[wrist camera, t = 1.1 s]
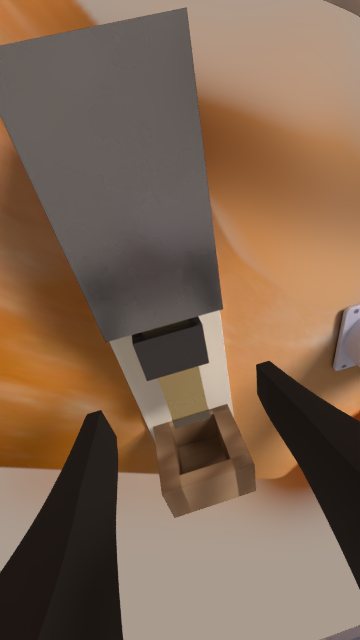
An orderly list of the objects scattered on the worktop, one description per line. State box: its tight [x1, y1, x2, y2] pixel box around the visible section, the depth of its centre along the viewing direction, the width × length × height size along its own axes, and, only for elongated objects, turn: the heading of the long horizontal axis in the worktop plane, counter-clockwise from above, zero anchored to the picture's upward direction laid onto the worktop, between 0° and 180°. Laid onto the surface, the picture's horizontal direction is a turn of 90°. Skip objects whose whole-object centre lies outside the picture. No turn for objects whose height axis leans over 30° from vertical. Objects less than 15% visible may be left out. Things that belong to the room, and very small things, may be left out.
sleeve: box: [0, 8, 223, 342], centre depth 13 cm, size 6×10×6 cm, turn 12°
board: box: [109, 310, 234, 441], centre depth 21 cm, size 9×31×1 cm, turn 11°
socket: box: [153, 404, 256, 517], centre depth 25 cm, size 8×5×6 cm, turn 102°
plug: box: [132, 316, 211, 429], centre depth 16 cm, size 4×19×5 cm, turn 12°
